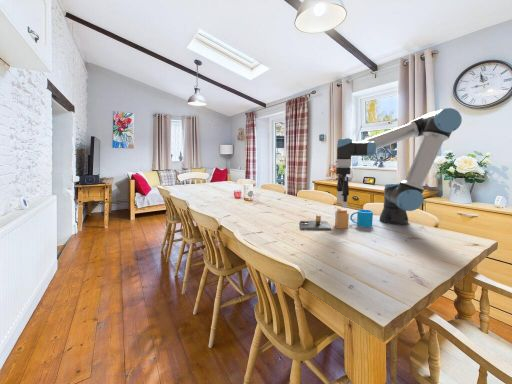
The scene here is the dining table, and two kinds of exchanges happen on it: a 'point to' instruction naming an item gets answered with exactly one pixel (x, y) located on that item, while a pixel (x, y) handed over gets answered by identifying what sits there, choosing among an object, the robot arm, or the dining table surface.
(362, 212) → the mug
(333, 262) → the dining table surface
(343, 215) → the brown rectangular block
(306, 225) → the plate
